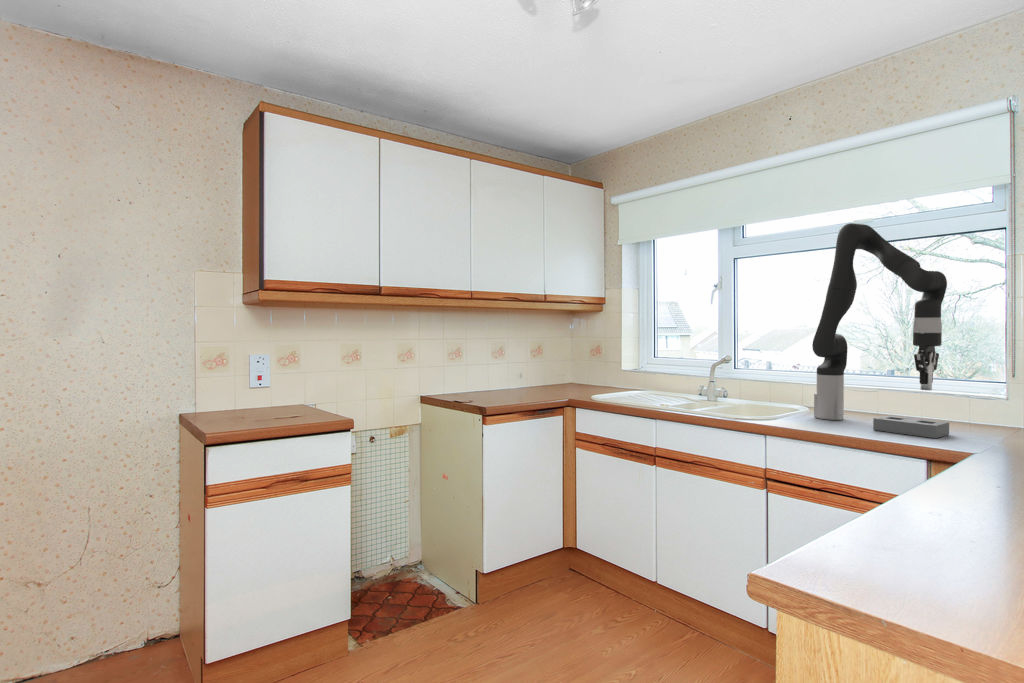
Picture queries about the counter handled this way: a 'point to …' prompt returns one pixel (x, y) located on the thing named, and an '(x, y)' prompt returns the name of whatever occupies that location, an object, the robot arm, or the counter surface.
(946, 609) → the counter surface
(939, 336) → the robot arm
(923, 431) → the hole block
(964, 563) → the counter surface
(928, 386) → the steel peg
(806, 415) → the counter surface
